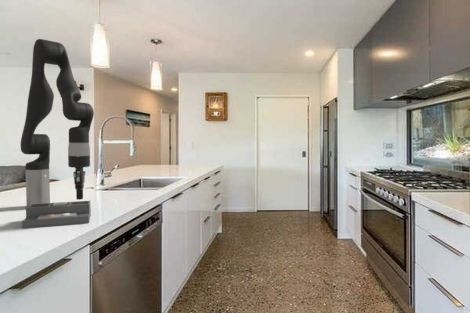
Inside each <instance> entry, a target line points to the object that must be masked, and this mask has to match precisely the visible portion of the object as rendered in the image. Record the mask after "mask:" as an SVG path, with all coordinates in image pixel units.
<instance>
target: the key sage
mask: <svg viewBox="0 0 470 313" xmlns="http://www.w3.org/2000/svg"><path fill="white" fill-rule="evenodd" d="M61 202H62V203H58V202H53V203H54V204H53V205H52V206H60V205H68V202H69V201H64V202H63V201H61Z"/></svg>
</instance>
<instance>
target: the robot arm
mask: <svg viewBox="0 0 470 313" xmlns="http://www.w3.org/2000/svg"><path fill="white" fill-rule="evenodd" d="M33 44H34V45H33V48H32V49H33V50H32V63H31V64H32V66H31V78H30V79H31V80H30V85H29V91H28V96H27V107H26V116H25V121H24V125H23V128H22V132H21V133H22V134H21V138H20V151H21V152H22V154H24V155H38V157H37V158H35V159H34V160H32V161H29V162H27V163H25V165H24V166H25V190H26V191H25V199H26V202H25V203H26V208H27V207H28V206H29V205H30V204H41V203H51V193H50V192H51V189H50V188H51V184H50V180H51V179H50V162H51V160H50V153H51V138H50V137H49V135H48V134H46V133H35V131H36V129H37V127H38V126H39V125H40V124H41V122H43V121H44V120H45V119H46V118H47V117H48V116H49V115H50V113H51V112H52V110H53V107H54V104H53V103H54V99H55V94H54V92H53V89H52V87H51V86H50V83H49V82H48V79H47V78H46V77H47V76H46V73H45V64H46V65H53V66H54V65H55V66H58V68H59V70H60V71H59V73H58V76H57V77H56V81H55V82H56V83H55V84H56V87H57V91H58V93H59V95H60V98H61V103H62V115H63V117H65V119H67V120H68V121H74V122H75V121H76V122H77V121H79V124H78V125H76V126H74V127H70V128H69V129H68V146H67V152H68V153H67V158H68V159H67V160H68V162H67V165H68V167H69V168H75V170H74V171H73V172H72V173H73V174H72V176H73V184H74V188H75V193H76V194H75V195H76V201H77V200H79V201H81V200H83V199H84V188H85V187H84V186H85V182H86V180H85V179H86V178H85V176H86V171H84V168H89V167H90V166H91V147H90V129H91V126H92V122H93V119H94V116H95V115H94V114H95V112H94V108H93V106H92V105H91V104H90V103H88V102H80V101H81V99H82V93H81V91H80V89H79V87H78V85H77V83H76V81H75V79H74V74H73V71H72V68H71V67H72V66H71V64H70V59H69V56H68V51H67V50H66V47H65V45H63V43H60V42H57V41H52V40H48V39H42V38H38V39H36V40H35V42H34V43H33Z"/></svg>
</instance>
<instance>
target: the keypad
mask: <svg viewBox="0 0 470 313" xmlns="http://www.w3.org/2000/svg"><path fill="white" fill-rule="evenodd" d="M62 202H63V201H61V202H60V201H59V202H57V203H62ZM67 202H68V205H60V206H52V205H53V204H54V203H55V202H50V203H41V204H30V205H29V206H28V207H27V206H26V207H25V218H24V219H23V220H22V229H30V228H43V227H55V226H67V225H80V224H89V223H90V220H91V216H92V215H91V214H92V213H91V212H92V209H91V208H92V207H91V206H92V205H91V200H79V201H77V200H76V201H67Z"/></svg>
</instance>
